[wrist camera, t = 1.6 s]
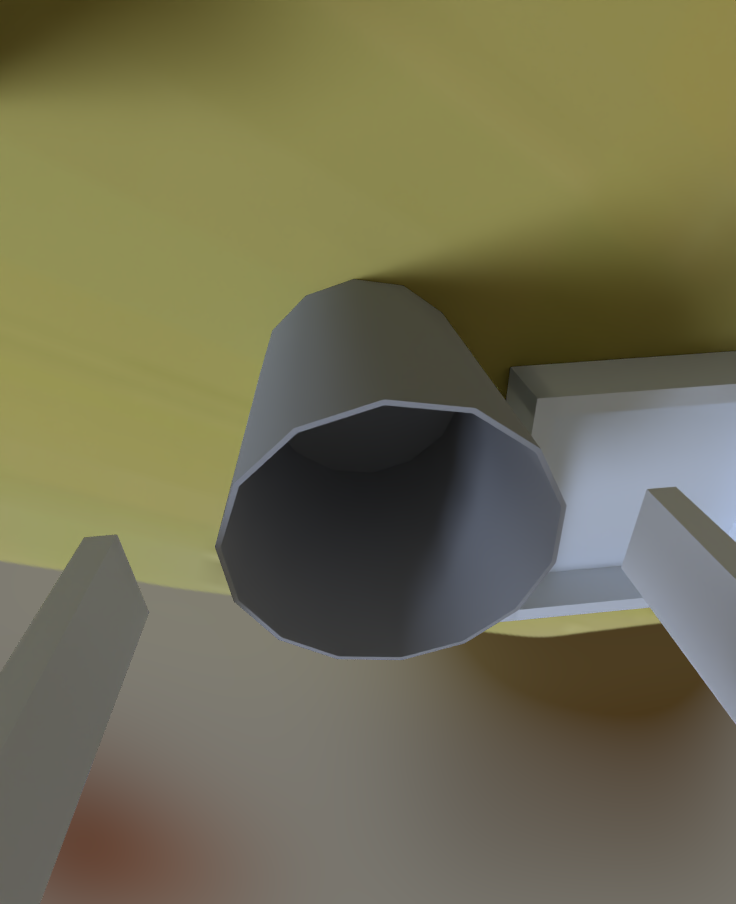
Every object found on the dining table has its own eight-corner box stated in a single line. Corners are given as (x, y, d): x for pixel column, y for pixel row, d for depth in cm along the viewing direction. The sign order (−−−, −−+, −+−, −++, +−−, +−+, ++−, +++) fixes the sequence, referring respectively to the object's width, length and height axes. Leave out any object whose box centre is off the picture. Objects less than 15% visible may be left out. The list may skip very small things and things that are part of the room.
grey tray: (510, 367, 20) (537, 398, 18) (818, 345, 21) (886, 372, 18) (483, 577, 27) (500, 621, 24) (716, 555, 28) (755, 596, 25)
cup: (503, 355, 20) (636, 508, 12) (388, 492, 23) (427, 688, 15) (328, 233, 17) (336, 321, 8) (225, 411, 20) (159, 600, 12)
